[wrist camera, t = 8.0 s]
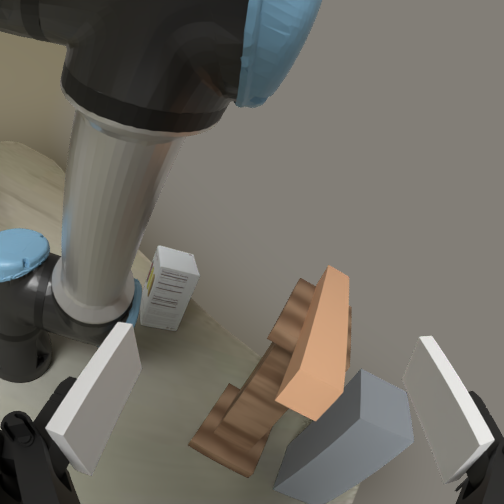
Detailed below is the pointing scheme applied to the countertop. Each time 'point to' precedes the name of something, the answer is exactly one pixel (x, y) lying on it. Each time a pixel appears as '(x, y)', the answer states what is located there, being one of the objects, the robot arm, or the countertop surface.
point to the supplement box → (168, 288)
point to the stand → (257, 394)
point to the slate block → (347, 441)
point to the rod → (319, 350)
